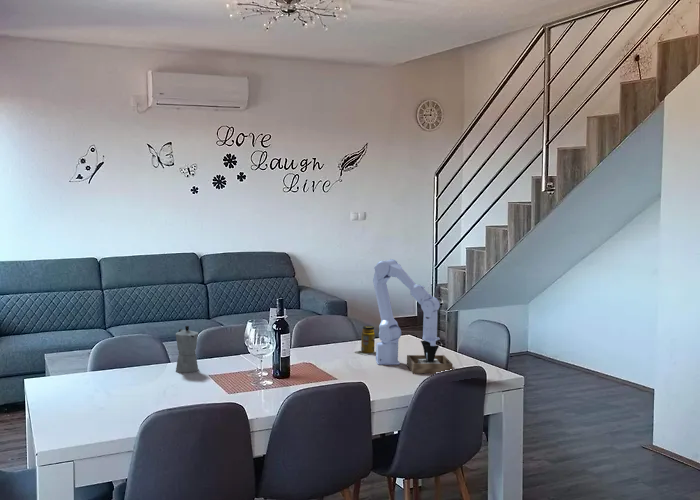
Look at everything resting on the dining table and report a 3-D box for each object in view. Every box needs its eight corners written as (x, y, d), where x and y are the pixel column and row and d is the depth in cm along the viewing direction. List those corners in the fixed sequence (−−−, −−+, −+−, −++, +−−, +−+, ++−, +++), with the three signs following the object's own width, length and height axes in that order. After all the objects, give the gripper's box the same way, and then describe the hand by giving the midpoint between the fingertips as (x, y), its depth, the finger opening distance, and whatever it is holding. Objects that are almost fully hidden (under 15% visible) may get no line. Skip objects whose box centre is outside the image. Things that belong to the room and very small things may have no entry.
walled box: (413, 373, 283) (413, 364, 283) (406, 364, 299) (407, 355, 299) (452, 373, 285) (452, 364, 284) (443, 364, 300) (444, 355, 300)
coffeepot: (204, 372, 279) (204, 327, 278) (181, 375, 274) (181, 329, 273) (190, 364, 292) (190, 321, 291) (168, 367, 287) (168, 323, 286)
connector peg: (426, 367, 290) (427, 351, 290) (424, 366, 293) (425, 349, 293) (433, 368, 290) (434, 351, 290) (432, 366, 293) (432, 349, 293)
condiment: (378, 352, 321) (378, 326, 320) (365, 355, 315) (365, 328, 314) (367, 350, 326) (367, 324, 326) (353, 352, 321) (354, 326, 320)
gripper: (443, 330, 284) (442, 363, 285) (436, 324, 298) (435, 355, 299) (426, 330, 283) (425, 363, 284) (419, 324, 298) (418, 355, 299)
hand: (429, 359), depth 292 cm, fingers open, 6 cm apart
